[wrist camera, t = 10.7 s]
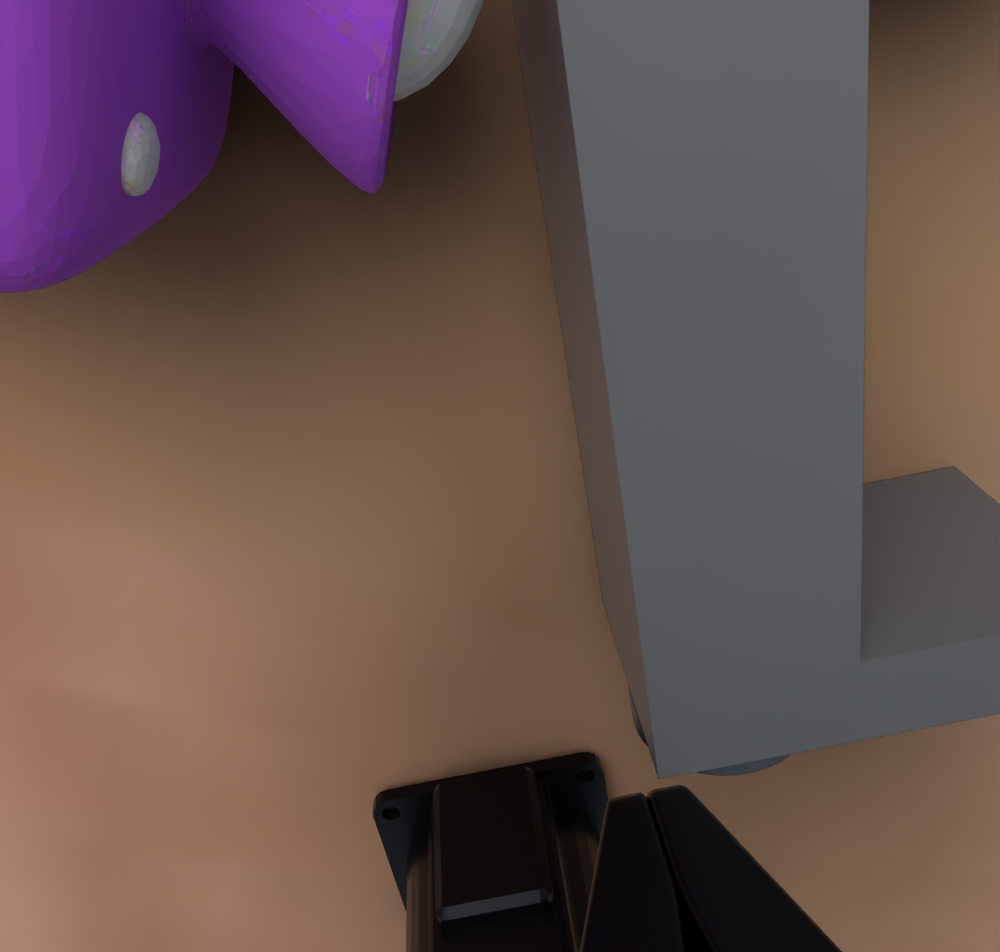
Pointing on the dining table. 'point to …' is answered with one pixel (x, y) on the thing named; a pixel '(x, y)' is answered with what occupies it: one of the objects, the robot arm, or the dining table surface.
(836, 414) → the grey hollow rectangular block
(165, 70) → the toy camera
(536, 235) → the dining table surface
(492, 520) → the dining table surface
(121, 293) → the dining table surface
